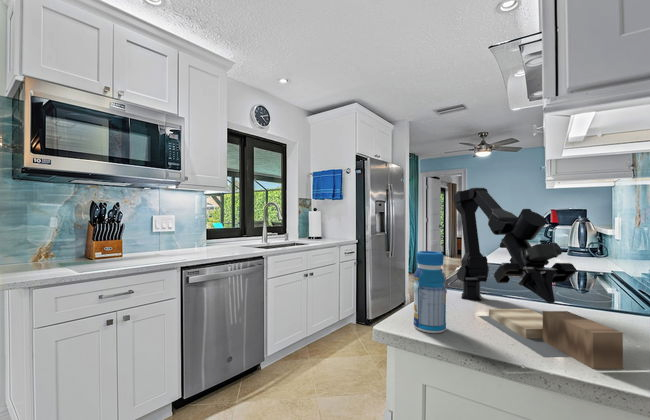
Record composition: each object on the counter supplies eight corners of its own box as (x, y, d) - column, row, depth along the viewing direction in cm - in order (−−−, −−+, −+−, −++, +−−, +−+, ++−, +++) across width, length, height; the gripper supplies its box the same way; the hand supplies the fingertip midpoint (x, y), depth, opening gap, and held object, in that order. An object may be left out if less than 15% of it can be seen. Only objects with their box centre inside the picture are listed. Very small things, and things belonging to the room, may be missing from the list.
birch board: (488, 316, 89) (488, 308, 89) (528, 316, 89) (528, 308, 89) (525, 338, 73) (525, 329, 73) (573, 337, 74) (573, 328, 74)
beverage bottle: (429, 336, 75) (430, 255, 75) (406, 325, 82) (406, 251, 82) (453, 331, 78) (454, 253, 79) (429, 320, 86) (429, 249, 86)
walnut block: (542, 311, 72) (593, 332, 59) (567, 311, 72) (622, 332, 59) (542, 340, 72) (593, 368, 59) (567, 340, 72) (622, 368, 59)
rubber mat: (477, 317, 89) (477, 316, 89) (527, 316, 90) (527, 315, 90) (543, 358, 64) (543, 356, 64) (612, 357, 64) (612, 356, 64)
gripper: (500, 231, 78) (531, 284, 67) (570, 232, 79) (612, 284, 68) (483, 257, 86) (508, 309, 75) (547, 257, 87) (581, 308, 76)
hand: (552, 302), depth 73 cm, fingers closed
